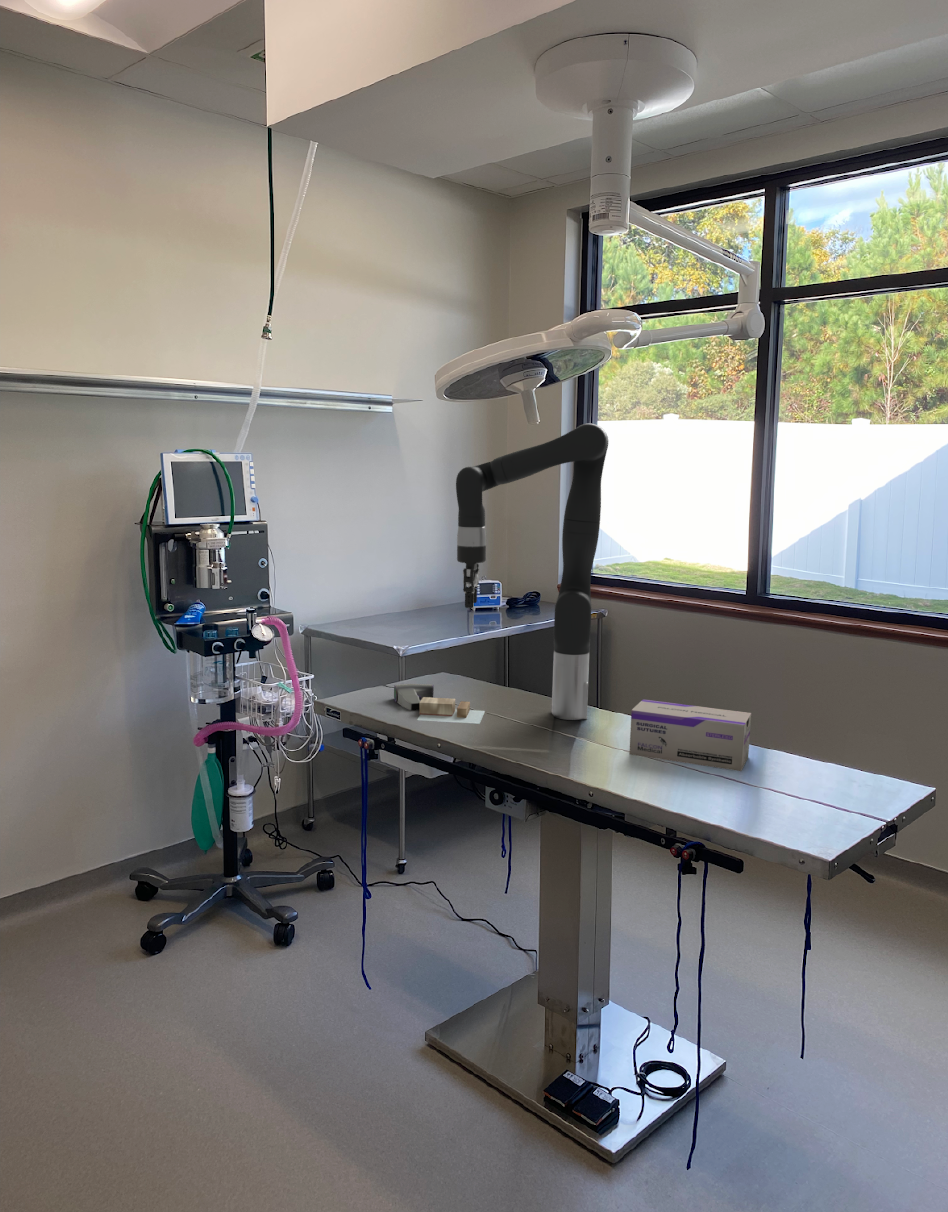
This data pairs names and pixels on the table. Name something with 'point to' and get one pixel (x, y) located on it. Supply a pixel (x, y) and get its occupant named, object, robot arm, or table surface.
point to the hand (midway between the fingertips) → (471, 605)
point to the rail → (463, 709)
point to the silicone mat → (455, 717)
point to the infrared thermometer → (412, 694)
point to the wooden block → (437, 706)
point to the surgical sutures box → (690, 734)
